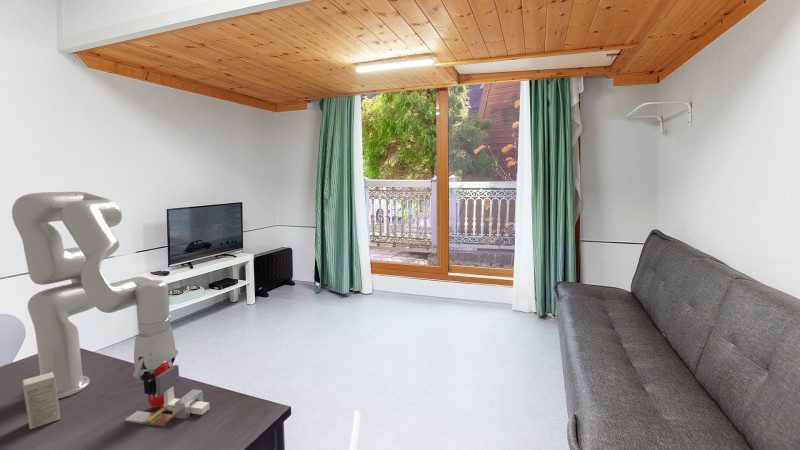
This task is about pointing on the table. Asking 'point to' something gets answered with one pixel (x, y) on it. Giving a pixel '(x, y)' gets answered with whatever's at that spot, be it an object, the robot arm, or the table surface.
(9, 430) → the table surface
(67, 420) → the table surface
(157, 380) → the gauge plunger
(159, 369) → the beverage can
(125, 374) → the table surface
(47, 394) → the skincare box
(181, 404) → the bench
